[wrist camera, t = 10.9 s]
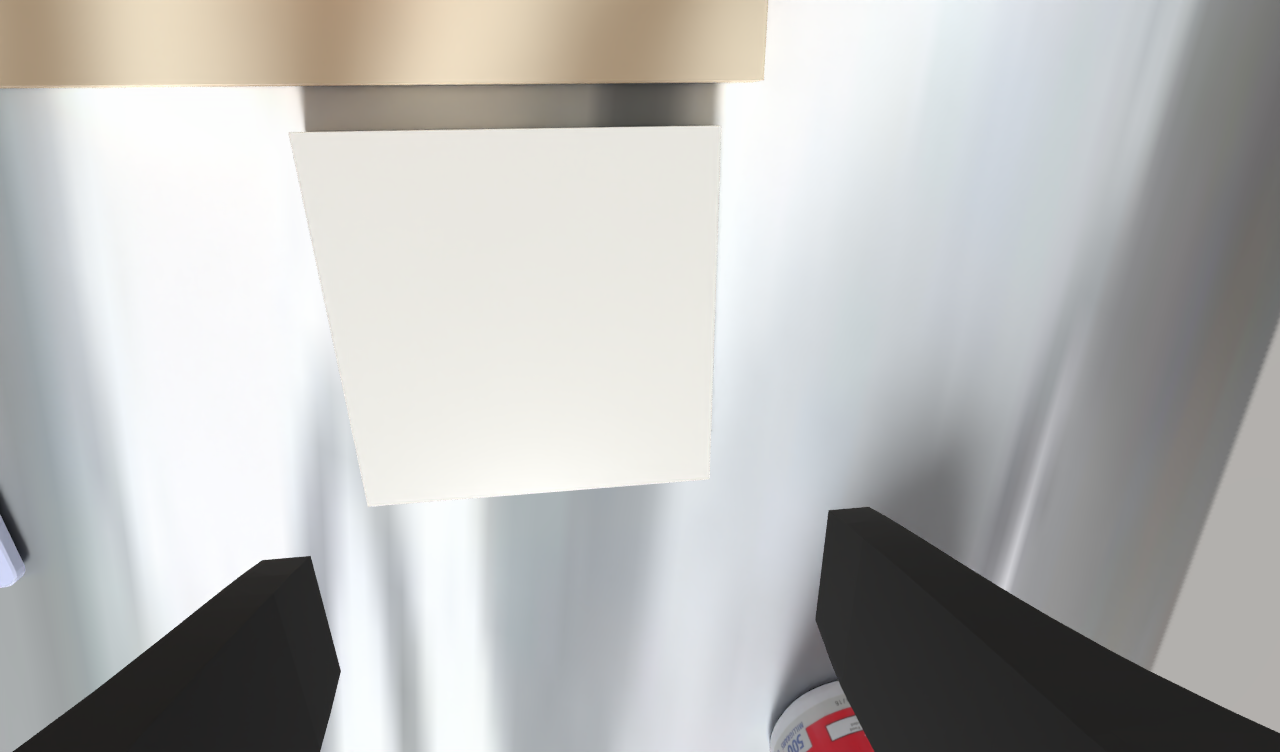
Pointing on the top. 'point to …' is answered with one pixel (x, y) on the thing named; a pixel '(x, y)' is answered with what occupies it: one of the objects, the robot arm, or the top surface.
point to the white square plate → (518, 303)
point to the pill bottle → (820, 724)
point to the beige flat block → (378, 42)
